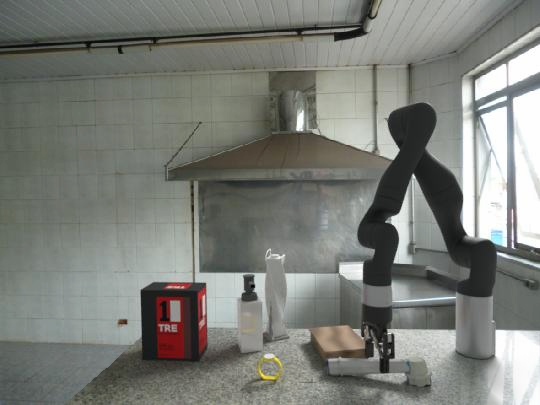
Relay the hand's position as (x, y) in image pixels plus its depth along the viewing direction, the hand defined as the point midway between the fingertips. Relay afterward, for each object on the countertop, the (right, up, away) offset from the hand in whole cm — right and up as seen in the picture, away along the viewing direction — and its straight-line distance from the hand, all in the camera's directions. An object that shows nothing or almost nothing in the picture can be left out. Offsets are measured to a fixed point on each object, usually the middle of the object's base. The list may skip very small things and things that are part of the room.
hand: (376, 364), depth 92 cm
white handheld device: (0, -4, 0) cm, 4 cm away
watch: (-27, -4, 0) cm, 27 cm away
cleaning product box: (-55, -4, +15) cm, 57 cm away
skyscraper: (-25, -3, +28) cm, 37 cm away
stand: (-7, -3, +15) cm, 17 cm away
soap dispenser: (-33, -3, +17) cm, 37 cm away
